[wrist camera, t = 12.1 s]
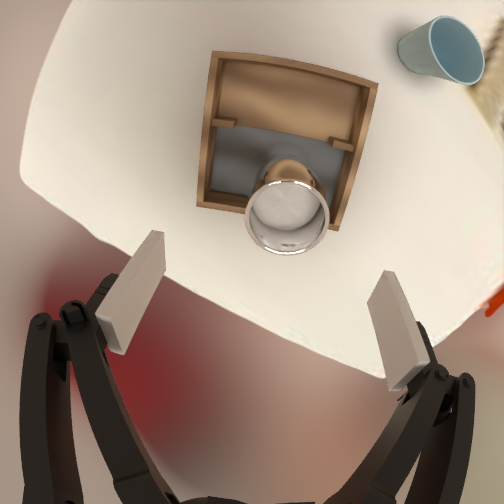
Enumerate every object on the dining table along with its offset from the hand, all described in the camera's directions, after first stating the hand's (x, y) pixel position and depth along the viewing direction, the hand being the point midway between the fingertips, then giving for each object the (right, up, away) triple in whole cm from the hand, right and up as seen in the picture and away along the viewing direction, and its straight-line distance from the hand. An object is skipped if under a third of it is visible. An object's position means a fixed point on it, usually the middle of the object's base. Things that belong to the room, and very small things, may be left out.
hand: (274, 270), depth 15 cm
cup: (+20, +26, +7) cm, 34 cm away
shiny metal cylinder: (+3, +12, +18) cm, 22 cm away
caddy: (+2, +15, +16) cm, 22 cm away
